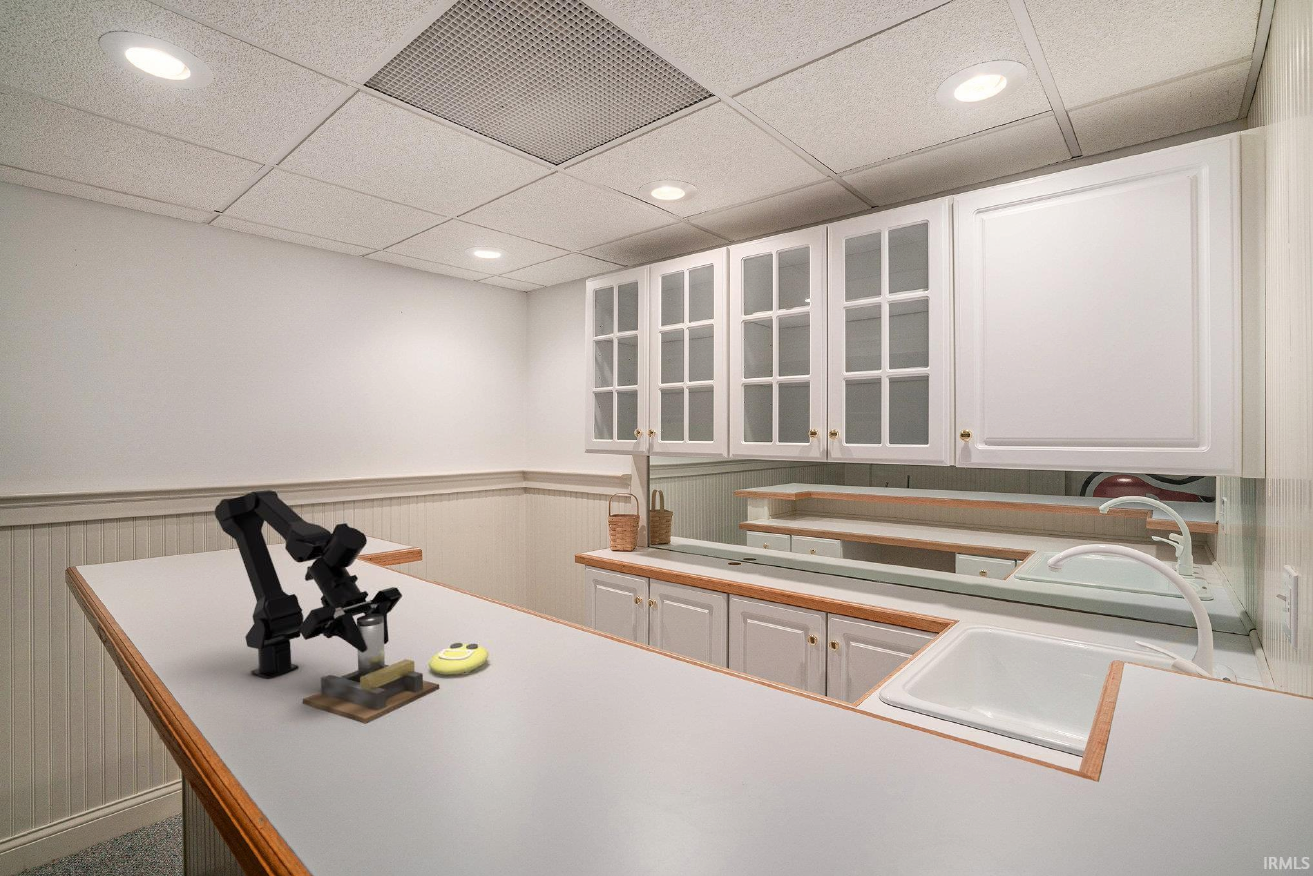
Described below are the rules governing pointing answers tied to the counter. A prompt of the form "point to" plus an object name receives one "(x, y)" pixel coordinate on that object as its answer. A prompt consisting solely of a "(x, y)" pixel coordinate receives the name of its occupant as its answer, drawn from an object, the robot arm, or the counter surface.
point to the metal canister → (371, 644)
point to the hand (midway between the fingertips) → (375, 646)
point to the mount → (368, 695)
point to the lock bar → (386, 674)
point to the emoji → (458, 659)
